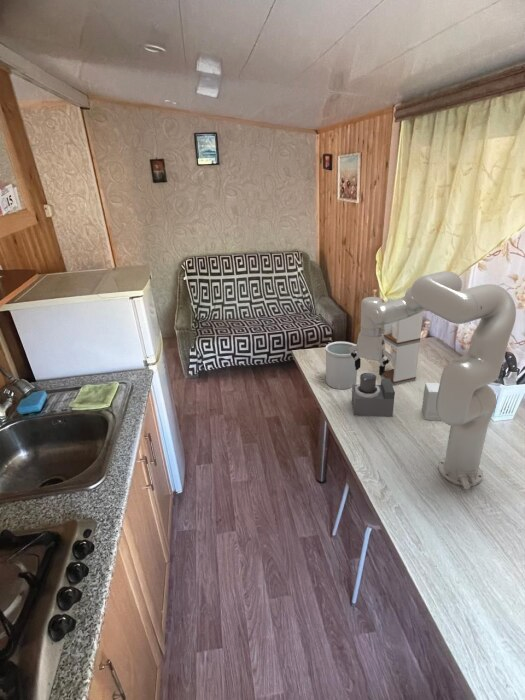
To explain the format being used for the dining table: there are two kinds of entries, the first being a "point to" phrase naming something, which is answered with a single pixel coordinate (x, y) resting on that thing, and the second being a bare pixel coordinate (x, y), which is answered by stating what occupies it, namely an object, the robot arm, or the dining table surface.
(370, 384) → the lens
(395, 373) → the slotted white tower
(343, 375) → the utensil holder
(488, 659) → the dining table surface
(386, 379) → the camera body
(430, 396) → the supplement box
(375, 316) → the robot arm
